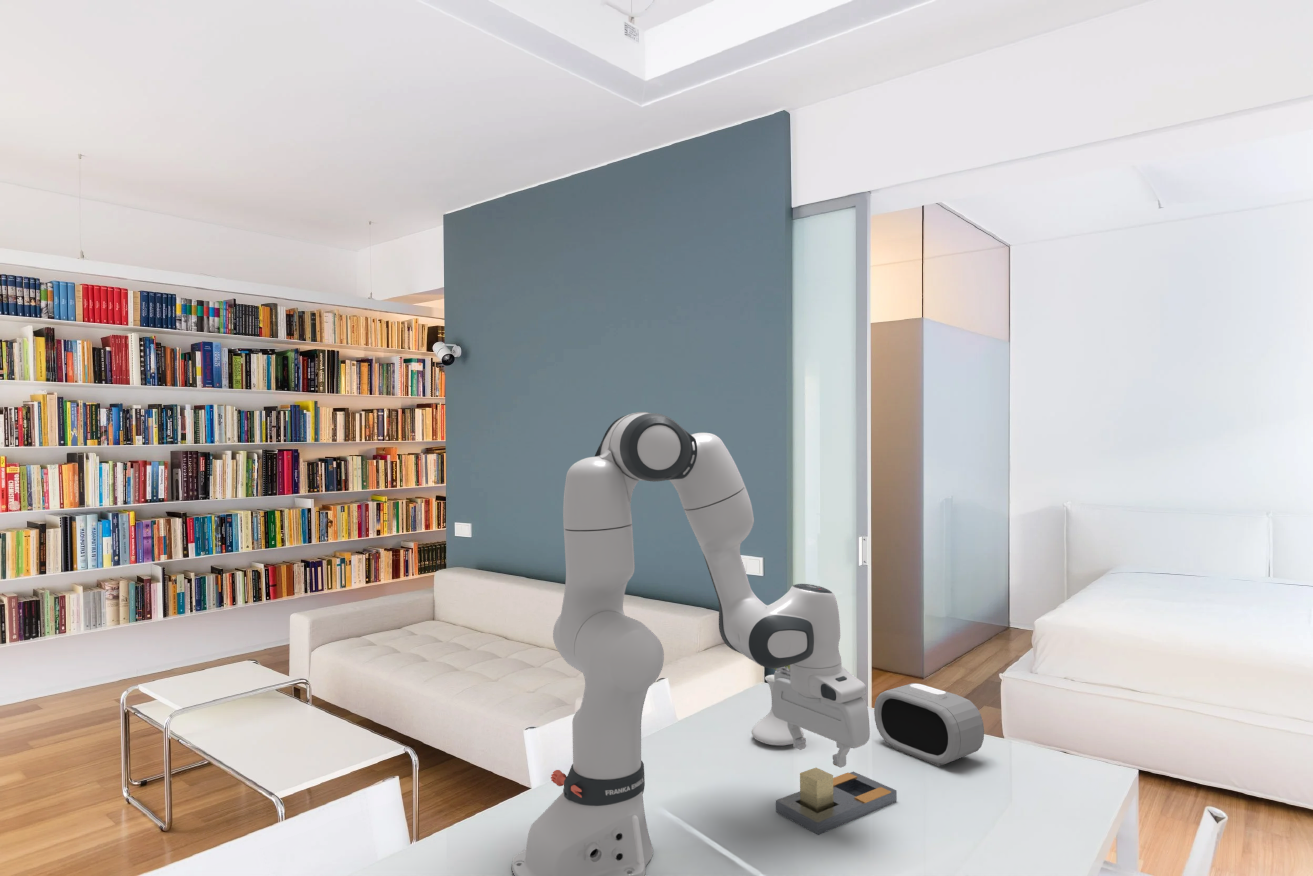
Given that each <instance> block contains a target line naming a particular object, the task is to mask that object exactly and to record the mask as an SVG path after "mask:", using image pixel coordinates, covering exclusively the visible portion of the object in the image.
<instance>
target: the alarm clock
mask: <svg viewBox="0 0 1313 876" xmlns="http://www.w3.org/2000/svg"><path fill="white" fill-rule="evenodd" d="M873 709H874V711H873V712H874V713H873V716H874V722H875V727H876V729H877V732H878V733H879V735H880V736H881V738H882V739H883V740H884V741H885V742H886V743H888V744H890V745H891V746H893V747H892V748H893V749H895V750H896V749H897V750H896V751H899V750H900V751H899V752H902V753H905V754H907V755H910V756H912V757H914V758H917V759H919V760H921V761H925V762H927V763H930V764H932V765H935V766H938V767H941V766H944V765H946V764H949V763H952V762H954V761H956V759H957V760H959V758H960V759H962V758H963V757H966V756H968V755H971V754H973V753H976V752H978V751H979V750H980V749H981V748H982V745H983V742H984V737H985V728H984V727H985V726H984V721H983V717H982V714H981V712H980V711H979V709H978V707H977V706H976V705H975V704H974V703H973V702H972V700H970V699H967V698H965V697H963V696H961V695H958V694H956V693H952V692H949V691H945V690H942V689H940V688H935V687H932V686H928V685H925V684H923V683H922V684H921V683H915V682H912V683H908V684H905V685H901V686H898V687H895V688H890V689H888V690H885V691H883V692H881V693H879V694H878V696H877V697H876V699H875V702H874V707H873ZM961 757H962V758H961Z"/></svg>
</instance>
